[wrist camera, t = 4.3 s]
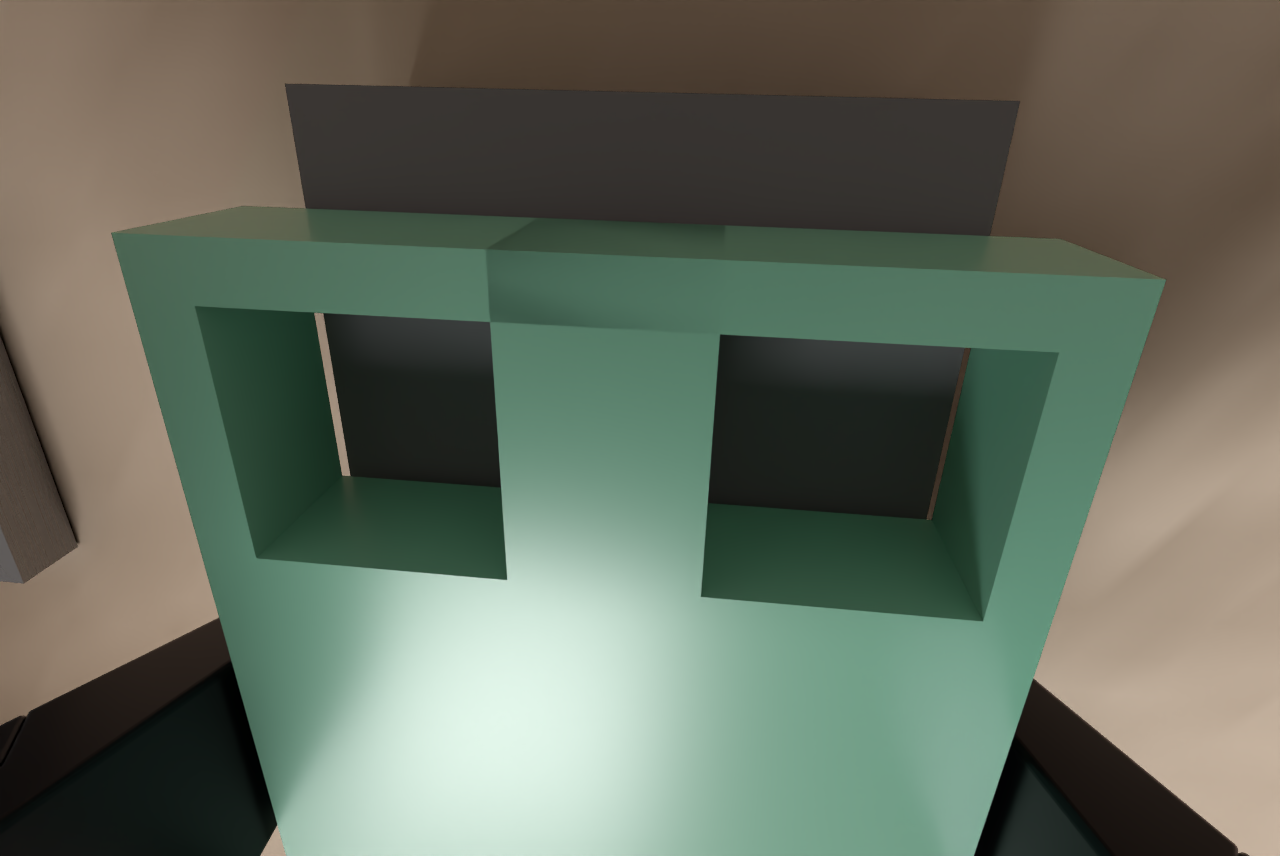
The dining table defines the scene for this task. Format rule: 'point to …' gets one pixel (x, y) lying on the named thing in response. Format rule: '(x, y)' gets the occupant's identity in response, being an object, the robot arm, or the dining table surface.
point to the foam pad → (660, 193)
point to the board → (626, 532)
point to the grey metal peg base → (26, 491)
